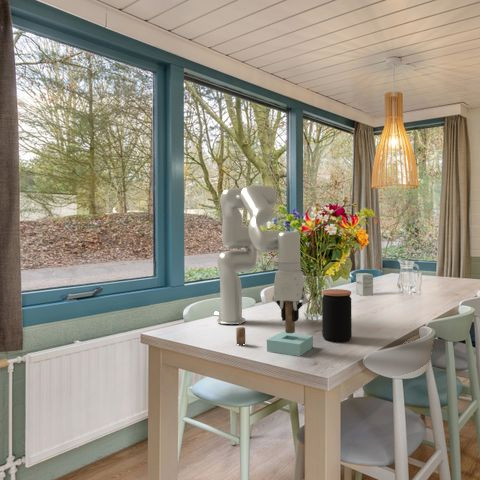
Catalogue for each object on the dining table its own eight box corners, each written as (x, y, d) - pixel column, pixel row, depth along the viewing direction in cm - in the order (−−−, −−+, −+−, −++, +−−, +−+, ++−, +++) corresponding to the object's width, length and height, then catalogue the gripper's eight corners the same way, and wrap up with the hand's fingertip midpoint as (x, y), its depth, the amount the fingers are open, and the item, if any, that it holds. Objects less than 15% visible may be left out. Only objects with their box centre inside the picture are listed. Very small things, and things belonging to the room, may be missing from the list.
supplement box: (355, 294, 263) (355, 273, 263) (366, 293, 266) (366, 272, 265) (362, 296, 256) (362, 274, 256) (373, 295, 259) (373, 274, 258)
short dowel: (235, 345, 157) (234, 328, 157) (239, 343, 160) (239, 326, 159) (242, 346, 155) (242, 329, 155) (247, 344, 158) (246, 327, 158)
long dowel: (283, 332, 150) (283, 297, 150) (287, 330, 153) (287, 296, 152) (292, 333, 148) (292, 298, 148) (296, 331, 151) (295, 297, 151)
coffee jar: (347, 335, 168) (346, 288, 168) (355, 342, 158) (355, 293, 157) (319, 335, 168) (319, 289, 167) (326, 343, 157) (325, 293, 157)
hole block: (266, 351, 149) (266, 339, 149) (281, 342, 159) (281, 331, 159) (299, 356, 143) (299, 344, 143) (313, 347, 153) (312, 335, 153)
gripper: (263, 267, 151) (263, 320, 151) (307, 269, 142) (308, 325, 143) (272, 265, 157) (273, 316, 158) (315, 267, 149) (316, 320, 150)
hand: (290, 320), depth 150 cm, fingers closed on long dowel, 3 cm apart
